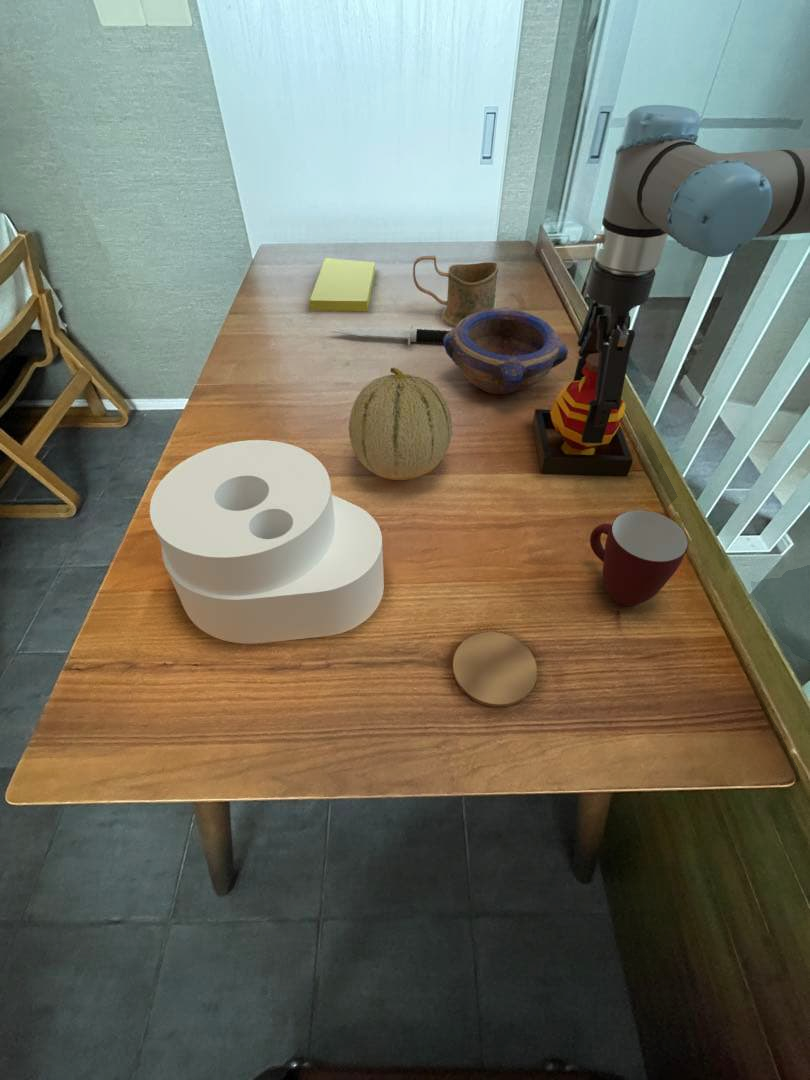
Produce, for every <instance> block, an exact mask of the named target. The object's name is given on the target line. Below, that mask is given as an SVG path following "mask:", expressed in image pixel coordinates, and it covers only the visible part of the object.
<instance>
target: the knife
mask: <svg viewBox="0 0 810 1080" xmlns="http://www.w3.org/2000/svg"><path fill="white" fill-rule="evenodd" d="M449 331H450V330H444V329H443V330H441V329H422V328H413V325H412V324H410V325H409V329H408V330H387V329H385V330H384V329H369V328H367V329H366V328H343V329H336V330H330V331H329V333H334V334H335V333H336V334H344V335H351V336H359V337H363V338H364V337H365V338H384V339H400V340H407V346H410V345H411V343H423V344H424V343H425V344H428V343H429V344H443V345H444V342H443V339H444V336H445V335H446V334H447V333H448V332H449Z"/></svg>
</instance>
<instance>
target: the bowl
mask: <svg viewBox="0 0 810 1080" xmlns="http://www.w3.org/2000/svg"><path fill="white" fill-rule="evenodd" d="M448 331H449V332H448V333H447V334H446V335H445V336H444V339H443V342H444V344H443V348H444V350H445V353H446V354H447V356H448V358H450V359H451V360H452V362H453V363H454V364H455V365H456V366H457V367H458V369H459V371H460V372H461V373H462V375H463V376H464V377H465V379H467V381H469V383H471V384H472V385H474V386H475V387H477V388H479V389H481V390H482V391H484V392H486V393H489V394H494V395H506V394H509V393H514V392H518V391H521V390H525V389H527V388H531V387H533V386H534V385H537V384H538V383H540V381H542V380H544V378H546V377H547V375H548V374H549V373H550V371H551V370H552V369H553V368H555V367H557V366H559V365H561V364H562V363H563V362H565V361H566V360H567V358H568V354H569V350H568V347H567V345H566V343H565V342H564V341H563V340H562V338H561V337H560V336H559V335H558V333H557V332H556V330H555V329H554V328H553V326H551V325H550V323H548V322H547V321H545V320H544V319H542V318H541V317H539V316H537V315H534V314H532V313H530V312H525V311H522V310H518V309H514V308H511V307H509V306H505V307H504V306H503V307H498V308H493V309H491V310H485V311H480V312H477V313H474V314H471V315H469V316H467V317H466V318H464V319H463V320H461V321H460V322H459V323H458V325H457V326H456V327H453V328H452V329H450V330H448Z"/></svg>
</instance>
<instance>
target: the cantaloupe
mask: <svg viewBox="0 0 810 1080" xmlns="http://www.w3.org/2000/svg"><path fill="white" fill-rule="evenodd" d="M390 373H392V374H388V375H383V376H380V377H377V378H375V379H373V380H372V381H370V382H369V383H367V384H366V385H365V386H364V387H363V388H362V390H361V391H360V392H359V394H358V395H357V397H356V398H355V400H354V402H353V405H352V409H351V411H350V416H349V421H348V433H349V440H350V444H351V449H352V451H353V453H354V455H355V456H356V458H357V459H358V460H359V462H360V463H361V465H363V467H364V468H366V469H367V470H368V471H370V472H371V473H373V474H374V475H376V476H378V477H381V478H384V479H386V480H392V481H393V480H395V481H397V480H400V481H401V480H402V481H403V480H406V481H407V480H412V479H416V478H419V477H422V476H424V475H426V474H428V473H430V472H431V471H433V470H434V469H435V468H436V467H437V466H438V464H440V463H441V461H443V459H444V457H445V455H446V454H447V452H448V449H449V448H450V444H451V439H452V435H453V420H452V414H451V410H450V408H449V405H448V403H447V401H446V399H445V398H444V396H443V394H442V392H441V391H440V390H439V389H438V388H437V387H436V386H435V385H434V383H432V382H430V381H429V380H427V379H425V378H422V377H420V376H416V375H412V374H407V373H406V374H405V373H403V371H401V370H400V369H398V368H397V367H390Z"/></svg>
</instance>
